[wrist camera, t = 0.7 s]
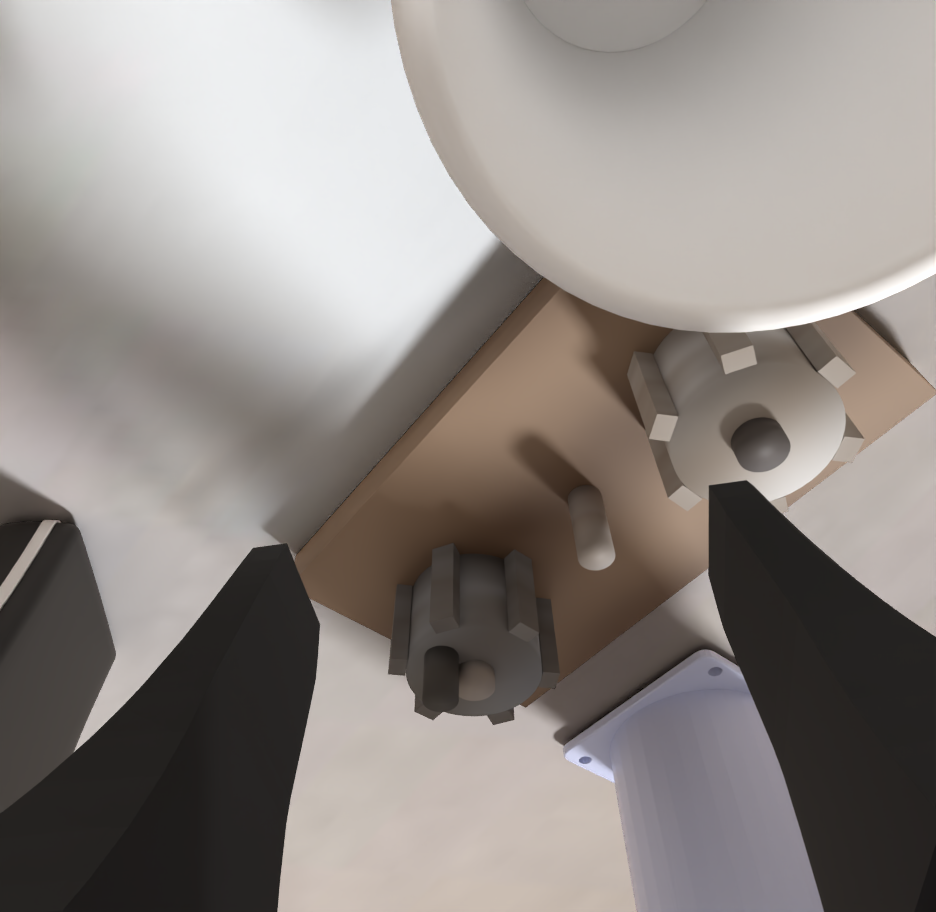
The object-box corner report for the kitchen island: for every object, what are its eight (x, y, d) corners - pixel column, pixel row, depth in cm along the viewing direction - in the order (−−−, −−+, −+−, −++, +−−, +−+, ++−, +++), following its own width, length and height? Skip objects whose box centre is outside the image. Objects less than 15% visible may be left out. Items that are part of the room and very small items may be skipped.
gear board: (912, 365, 23) (1037, 497, 18) (523, 674, 30) (534, 825, 25) (668, 137, 19) (739, 225, 14) (296, 555, 27) (259, 705, 22)
